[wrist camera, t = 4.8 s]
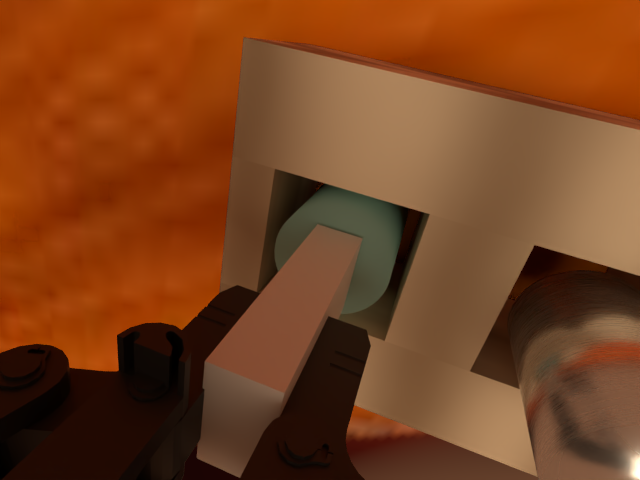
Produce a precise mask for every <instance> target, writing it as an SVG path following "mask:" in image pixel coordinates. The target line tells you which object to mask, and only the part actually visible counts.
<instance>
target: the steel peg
mask: <svg viewBox="0 0 640 480" xmlns="http://www.w3.org/2000/svg"><path fill="white" fill-rule="evenodd" d="M507 327H508V334H509V339H510V344H511V349H512V354H513V359H514V364H515V368H516V373H517V378H518V383H519V388H520V393H521V398H522V403H523V407H524V412H525V417H526V422H527V427H528V432H529V437H530V441H531V446H532V451H533V456H534V461H535V466H536V471H537V476H538V480H640V291H639V290H638V289H637V288H635V287H634V286H633V285H631V284H630V283H628V282H627V281H625V280H623V279H621V278H619V277H616V276H613V275H610V274H607V273H602V272H597V271H585V270H578V271H567V272H562V273H558V274H554V275H550V276H548V277H545V278H543V279H541V280H539V281H537V282H535V283H534V284H532V285H531V286H529V287H528V288H526V289H525V290H524V291H523V292H522V293H521V294H520V295H519V296H518V298H517V299H516V300H515V302H514V303H513V305H512V307H511V309H510V312H509V315H508V322H507Z"/></svg>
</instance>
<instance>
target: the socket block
mask: <svg viewBox="0 0 640 480" xmlns="http://www.w3.org/2000/svg"><path fill="white" fill-rule="evenodd" d="M318 181H319V182H322V183H325V184H329V185H332V186H336V187H339V188H342V189H346V190H349V191H353V192H356V193H359V194H363V195H366V196H370V197H373V198H376V199H380V200H383V201H387V202H390V203H393V204H397V205H400V206H404V207H407V208H410V209H414V210H417V211H421V214H420V216H419V219H418V222H417V225H416V228H415V231H414V234H413V237H412V240H411V243H410V245H409V248H408V251H407V254H406V257H405V260H404V263H403V264H400V263H397V262H395V264H394V267H393V271H392V274H391V278H390V281H389V284H388V286H387V289H386V290H385V292H384V293H383V295H382V296H381V297H380V298H379V300H377V301H376V302H375V303H374V304H373V305H371V306H369V307H368V308H366V309H364V310H361V311H358V312H355V313H349V314H340V316H339V319H338V320H341V321H343V322H346V323H349V324H352V325H355V326H357V327H360V328H363V329H366V330H367V333H368V337H369V341H370V344H371V348H370V351H369V354H368V358H367V361H366V365H365V368H364V372H363V375H362V379H361V382H360V386H359V389H358V393H357V396H356V400H355V403H354V405H356V406H358V407H361V408H363V409H366V410H368V411H371V412H374V413H376V414H379V415H381V416H384V417H386V418H389V419H391V420H394V421H397V422H399V423H402V424H404V425H407V426H409V427H412V428H414V429H417V430H419V431H422V432H425V433H427V434H430V435H432V436H435V437H437V438H440V439H442V440H445V441H448V442H450V443H453V444H455V445H458V446H460V447H463V448H465V449H468V450H470V451H473V452H476V453H478V454H481V455H483V456H486V457H488V458H491V459H494V460H496V461H498V462H501V463H503V464H506V465H509V466H511V467H514V468H516V469H519V470H521V471H524V472H526V473H529V474H532V475H534V476H537V471H536V466H535V461H534V456H533V451H532V446H531V441H530V437H529V432H528V427H527V422H526V417H525V412H524V407H523V403H522V398H521V393H520V388H519V383H518V378H517V373H516V368H515V364H514V359H513V354H512V349H511V344H510V339H509V334H508V327H507V322H508V315H509V312H510V309H511V307H512V305H513V303H514V302H515V300H512V299H509V298H508V296H509V294H510V292H511V290H512V288H513V286H514V284H515V282H516V280H517V278H518V276H519V274H520V272H521V270H522V268H523V267H524V265H525V263H526V261H527V259H528V257H529V255H530V253H531V251H532V249H533V247H534V245H536V246H540V247H543V248H547V249H550V250H553V251H557V252H560V253H564V254H567V255H570V256H574V257H577V258H581V259H584V260H587V261H591V262H594V263H598V264H601V265H604V266H608V267H609V268H608V270H607V272H606V273H607V274H610V275H613V276H616V277H619V278H621V279H623V280H625V281H627V282H628V283H630V284H631V285H633V286H634V287H635V288H637V289H638V290H639V291H640V120H636V119H632V118H628V117H623V116H619V115H615V114H610V113H606V112H602V111H597V110H593V109H589V108H584V107H580V106H576V105H571V104H567V103H563V102H558V101H554V100H550V99H545V98H541V97H537V96H532V95H528V94H524V93H519V92H515V91H510V90H506V89H502V88H497V87H493V86H489V85H484V84H480V83H476V82H471V81H467V80H463V79H458V78H454V77H450V76H445V75H441V74H437V73H432V72H428V71H424V70H419V69H415V68H411V67H406V66H402V65H398V64H393V63H389V62H385V61H380V60H376V59H372V58H367V57H363V56H359V55H354V54H350V53H346V52H341V51H337V50H333V49H328V48H324V47H319V46H315V45H311V44H303V43H293V42H284V41H274V40H265V39H255V38H246V37H244V39H243V50H242V60H241V71H240V82H239V92H238V103H237V113H236V124H235V134H234V145H233V155H232V166H231V176H230V187H229V198H228V208H227V219H226V229H225V240H224V250H223V261H222V271H221V282H220V292H222V291H224V290H227V289H229V288H231V287H233V286H236V285H239V286H242V287H244V288H247V289H250V290H253V291H256V292H258V293H261V292H262V291H263V290H264V289H265V287H266V286H267V285H268V284H269V283H270V281H271V280H272V279H273V278H274V277H275V275H276V274H277V273H278V269H277V266H276V262H275V243H276V239H277V236H278V233H279V231H280V229H281V228H282V226H283V225H284V223H285V222H286V221H287V220H288V219H289V218H290V217H291V216H292V215H293V214H294V213H295V212H296V211H297V210H298V209H299V208H300V207H301V206H302V205H303V204H304V203H305V202H306V201H307V200H308V199H309V198H310V197H312V196H313V195H314V194H315V192H316V187H317V182H318ZM537 477H538V476H537Z"/></svg>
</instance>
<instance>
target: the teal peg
mask: <svg viewBox="0 0 640 480" xmlns="http://www.w3.org/2000/svg"><path fill="white" fill-rule="evenodd" d="M408 213H409V208H407V207H404V206H400V205H397V204H393V203H390V202H387V201H383V200H380V199H376V198H373V197H370V196H366V195H363V194H359V193H356V192H353V191H349V190H346V189H342V188H339V187H336V186H332V185H329V184H324V185H323V186H322V187H321V188H320V189H319V190H318V191H317V192H316V193H315V194H314V195H313V196H312V197H310V198H309V199H308V200H307V201H306V202H305V203H304V204H303V205H302V206H301V207H300V208H299V209H298V210H297V211H296V212H295V213H294V214H293V215H292V216H291V217H290V218H289V219H288V220H287V221H286V222H285V223H284V225H283V226H282V228H281V229H280V231H279V233H278V236H277V239H276V243H275V262H276V266H277V269H278V272H279V270H280V269H281V268H282V267H283V266H284V264H285V263H286V262H287V261H288V260H289V258H290V257H291V256H292V255H293V253H294V252H295V251H296V250H297V249H298V247H299V246H300V245H301V244H302V243H303V241H304V240H305V239H306V238H307V237H308V235H309V234H310V233H311V232H312V230H313V229H314V228H315V227H316V226H317V224H318V225H322V226H325V227H328V228H331V229H334V230H337V231H341V232H344V233H347V234H350V235H353V236H356V237H360V238H363V239H362V243H361V246H360V250H359V253H358V257H357V261H356V264H355V268H354V271H353V275H352V278H351V282H350V286H349V289H348V293H347V296H346V300H345V304H344V307H343V310H342V312H341V314H349V313H355V312H358V311H361V310H364V309H366V308H368V307H369V306H371V305H373V304H374V303H375V302H376V301H377V300H379V298H380V297H381V296H382V295H383V293H384V292H385V290H386V289H387V286H388V284H389V281H390V278H391V274H392V271H393V267H394V264H395V260H396V256H397V253H398V249H399V246H400V242H401V239H402V235H403V232H404V228H405V224H406V221H407V217H408Z"/></svg>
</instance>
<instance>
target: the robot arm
mask: <svg viewBox="0 0 640 480" xmlns="http://www.w3.org/2000/svg"><path fill="white" fill-rule="evenodd" d="M362 239H363V238H360V237H356V236H353V235H350V234H347V233H344V232H341V231H337V230H334V229H331V228H328V227H325V226H322V225H318V224H317V226H316V227H315V228H314V229H313V230H312V232H311V233H310V234H309V235H308V237H307V238H306V239H305V240H304V241H303V243H302V244H301V245H300V246H299V247H298V249H297V250H296V251H295V252H294V253H293V255H292V256H291V257H290V258H289V260H288V261H287V262H286V263H285V264H284V266H283V267H282V268H281V269H280V270H279V272H278V273H277V274H276V275H275V277H274V278H273V279H272V280H271V281H270V283H269V284H268V285H267V286H266V287H265V289H264V290H263V291H262V292H261V293H258V292H256V291H253V290H250V289H247V288H244V287H242V286H239V285H236V286H233V287H231V288H229V289H227V290H224V291H222V292H220V293H219V294H218V295H217V296H216V297H215V298H214V299H213V300H212V301H211V302H210V303H209V304H208V306H207V307H205V308H204V309H203V310H202V311H201V312H200V313H199V314H198V316H197V317H195V318H194V319H193V320H192V321H191V322H190V323H189V324H188V325H187V326H186V327H185V328H184V329H183V330H181V329H179V328H177V327H176V326H173V325H169V324H164V323H145V324H141V325H138V326H134V327H131V328H129V329H127V330H125V331H124V332H122V333H120V334H118V335H117V344H118V363H119V371H117V372H109V371H95V370H85V369H75V368H69V361H68V358H67V357H66V355H65V354H64V352H63V351H62V350H60V349H58V348H56V347H54V346H51V345H41V344H33V345H26V346H19V347H16V348H13V349H11V350H8V351H5V352H2V353H0V480H182V477H183V475H184V463H185V461H186V460H187V458H188V457H189V455H190V454H191V452H192V451H193V449H194V448H195V446H196V445H197V443H198V450H197V459H200V460H202V461H204V462H206V463H208V464H211V465H213V466H215V467H217V468H219V469H222V470H224V471H226V472H228V473H231V474H233V475H235V476H238V477H239V478H240V479H239V480H364V478H363V477H362V476H361V475H360V474H359V473H358V472H357V470H356V469H355V467H354V466H353V464H352V463H351V460H350V458H349V455H348V453H347V448H346V433H347V428H348V424H349V421H350V417H351V414H352V410H353V407H354V403H355V400H356V396H357V393H358V389H359V386H360V382H361V379H362V375H363V372H364V368H365V365H366V361H367V358H368V354H369V351H370V348H371V344H370V341H369V337H368V333H367V330H366V329H363V328H360V327H357V326H355V325H352V324H349V323H346V322H343V321H341V320H338V319H339V316H340V314H341V312H342V310H343V307H344V304H345V300H346V296H347V293H348V289H349V286H350V282H351V278H352V275H353V271H354V268H355V264H356V261H357V257H358V253H359V250H360V246H361V243H362Z"/></svg>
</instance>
